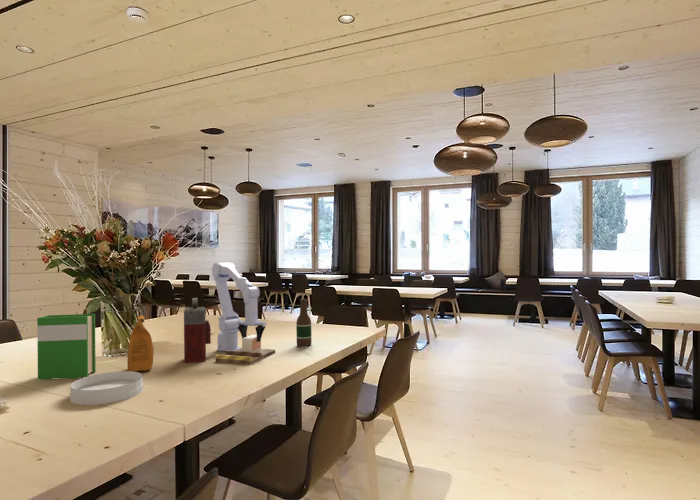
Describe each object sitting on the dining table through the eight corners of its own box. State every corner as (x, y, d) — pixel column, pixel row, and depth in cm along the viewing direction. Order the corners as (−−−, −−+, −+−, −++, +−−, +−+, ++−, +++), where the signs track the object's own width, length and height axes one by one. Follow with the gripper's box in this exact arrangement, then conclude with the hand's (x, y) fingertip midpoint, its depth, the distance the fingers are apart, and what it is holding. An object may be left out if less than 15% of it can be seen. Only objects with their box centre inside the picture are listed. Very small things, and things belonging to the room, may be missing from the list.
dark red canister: (211, 360, 190) (210, 298, 190) (184, 363, 186) (183, 299, 186) (211, 356, 198) (210, 296, 198) (185, 358, 195) (184, 297, 195)
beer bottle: (293, 346, 217) (292, 299, 217) (302, 343, 224) (301, 298, 224) (306, 347, 213) (305, 300, 213) (314, 344, 220) (314, 298, 220)
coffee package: (154, 364, 185) (154, 314, 185) (153, 371, 173) (152, 318, 173) (129, 367, 181) (128, 315, 181) (125, 374, 170) (125, 319, 170)
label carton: (251, 354, 195) (251, 338, 195) (242, 353, 197) (242, 338, 197) (261, 349, 204) (261, 335, 204) (252, 349, 205) (252, 334, 205)
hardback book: (95, 372, 173) (95, 313, 174) (87, 377, 166) (86, 316, 166) (48, 374, 171) (48, 315, 171) (37, 380, 164) (37, 318, 164)
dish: (127, 380, 162) (127, 367, 162) (155, 392, 148) (154, 378, 148) (59, 396, 145) (59, 381, 145) (84, 411, 131) (83, 395, 131)
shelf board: (215, 361, 188) (215, 354, 188) (242, 350, 209) (242, 344, 209) (251, 364, 183) (251, 357, 183) (275, 352, 204) (275, 346, 204)
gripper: (233, 313, 199) (233, 342, 199) (260, 313, 194) (261, 343, 194) (241, 311, 205) (241, 339, 205) (268, 311, 201) (268, 340, 201)
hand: (251, 341), depth 200 cm, fingers open, 7 cm apart
